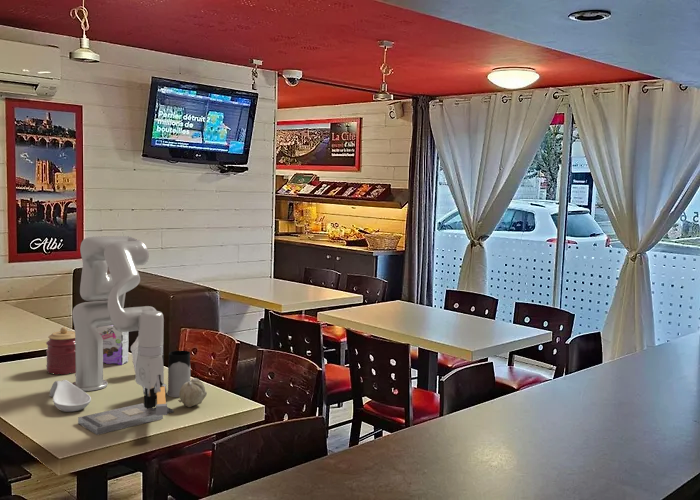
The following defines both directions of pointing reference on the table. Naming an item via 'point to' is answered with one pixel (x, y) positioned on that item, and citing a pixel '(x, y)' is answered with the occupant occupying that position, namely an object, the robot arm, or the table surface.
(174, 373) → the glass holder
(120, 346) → the candy box
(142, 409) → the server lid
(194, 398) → the garlic bulb
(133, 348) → the soft serve ice cream cone
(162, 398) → the orange and grey bar
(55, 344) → the canister
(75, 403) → the spoon rest
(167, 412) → the post
